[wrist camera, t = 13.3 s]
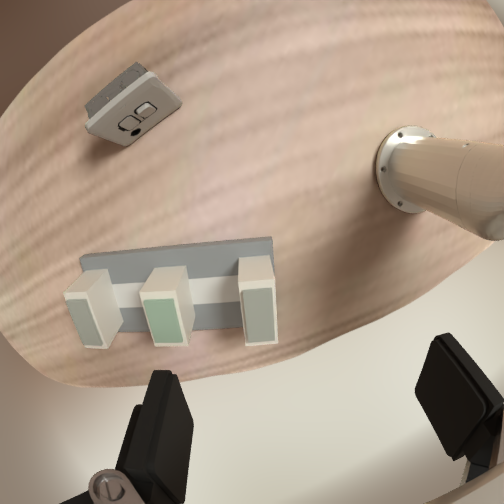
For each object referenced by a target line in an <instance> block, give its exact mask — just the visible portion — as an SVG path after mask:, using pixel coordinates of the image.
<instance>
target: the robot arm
mask: <svg viewBox="0 0 504 504" xmlns="http://www.w3.org/2000/svg"><path fill="white" fill-rule="evenodd" d="M397 134H398V135H397ZM381 167H382V170H381ZM376 176H377V181H378V185H379V188H380V190H381V192H382V194H383V196H384V197H385V198H386V199H387V201H388V202H389V203H390V204H391V205H393V206H394V207H396V208H397V209H399V210H401V211H404V212H407V213H420V212H424V211H426V210H427V211H429V212H431V213H433V214H435V215H438V216H440V217H442V218H444V219H446V220H448V221H450V222H452V223H454V224H456V225H458V226H460V227H461V228H463V229H465V230H467V231H469V232H471V233H473V234H475V235H477V236H479V237H481V238H483V239H486V240H491V241H499V240H503V239H504V145H500V144H492V143H485V142H477V141H468V140H458V139H446V138H437V137H436V136H435V135H434V134H433V133H431V132H430V131H429V130H427V129H425V128H423V127H419V126H403V127H400V128H397V129H395V130H394V131H393V132H391V133H390V134H389V135H388V136H387V137H386V138H385V139H384V141H383V143H382V144H381V146H380V149H379V151H378V155H377V160H376ZM415 395H416V397H417V399H418V401H419V402H420V404H421V406H422V408H423V410H424V412H425V413H426V415H427V417H428V419H429V421H430V422H431V424H432V426H433V428H434V430H435V432H436V434H437V436H438V438H439V440H440V442H441V444H442V446H443V448H444V450H445V451H446V454H447V455H448V456H450V457H452V459H453V461H455V460H457V459H459V458H461V457H463V456H464V455H466V457H467V462H466V466H465V470H464V473H463V477H462V480H461V483H460V486H459V487H458V488H456V489H454V490H452V491H450V492H448V493H447V494H444V495H442V496H440V497H438V498H436V499H434V500H431V501H429V502H427V503H425V504H504V404H503V402H504V398H503V397H502V396H501V394H500V393H499V392H498V390H497V389H496V388H495V387H494V385H493V384H492V383H491V381H490V380H489V379H488V378H487V376H486V375H485V374H484V373H483V371H482V370H481V369H480V368H479V366H478V365H477V364H476V363H475V362H474V360H473V359H472V358H471V357H470V355H469V354H468V353H467V352H466V351H465V349H464V348H462V346H461V345H460V344H459V342H458V341H457V340H456V339H455V338H454V337H453V336H452V334H450V333H445V334H441V335H438V336H436V337H435V338H434V340H433V341H432V342H431V344H430V347H429V351H428V354H427V357H426V360H425V362H424V365H423V368H422V371H421V374H420V376H419V379H418V382H417V384H416V387H415ZM193 427H194V424H193V418H192V416H191V413H190V410H189V408H188V405H187V402H186V400H185V397H184V394H183V392H182V388H181V386H180V383H179V380H178V377H177V375H176V374H172V372H171V371H170V370H154V371H153V373H152V376H151V379H150V382H149V385H148V388H147V391H146V395H145V397H144V401H143V404H142V405H141V404H139V405H136V406H135V407H134V409H133V412H132V415H131V418H130V421H129V425H128V428H127V431H126V434H125V437H124V440H123V444H122V447H121V450H120V454H119V457H118V461H117V464H116V467H115V470H114V469H105V470H101V471H99V472H97V473H96V474H94V475H93V477H92V478H91V480H90V482H89V487H88V488H89V489H88V491H86V492H84V493H82V494H80V495H78V496H75V497H73V498H71V499H69V500H67V501H64V502H62V503H60V504H183V503H184V501H185V494H186V485H187V477H188V476H187V475H188V468H189V460H190V452H191V444H192V436H193Z"/></svg>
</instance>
